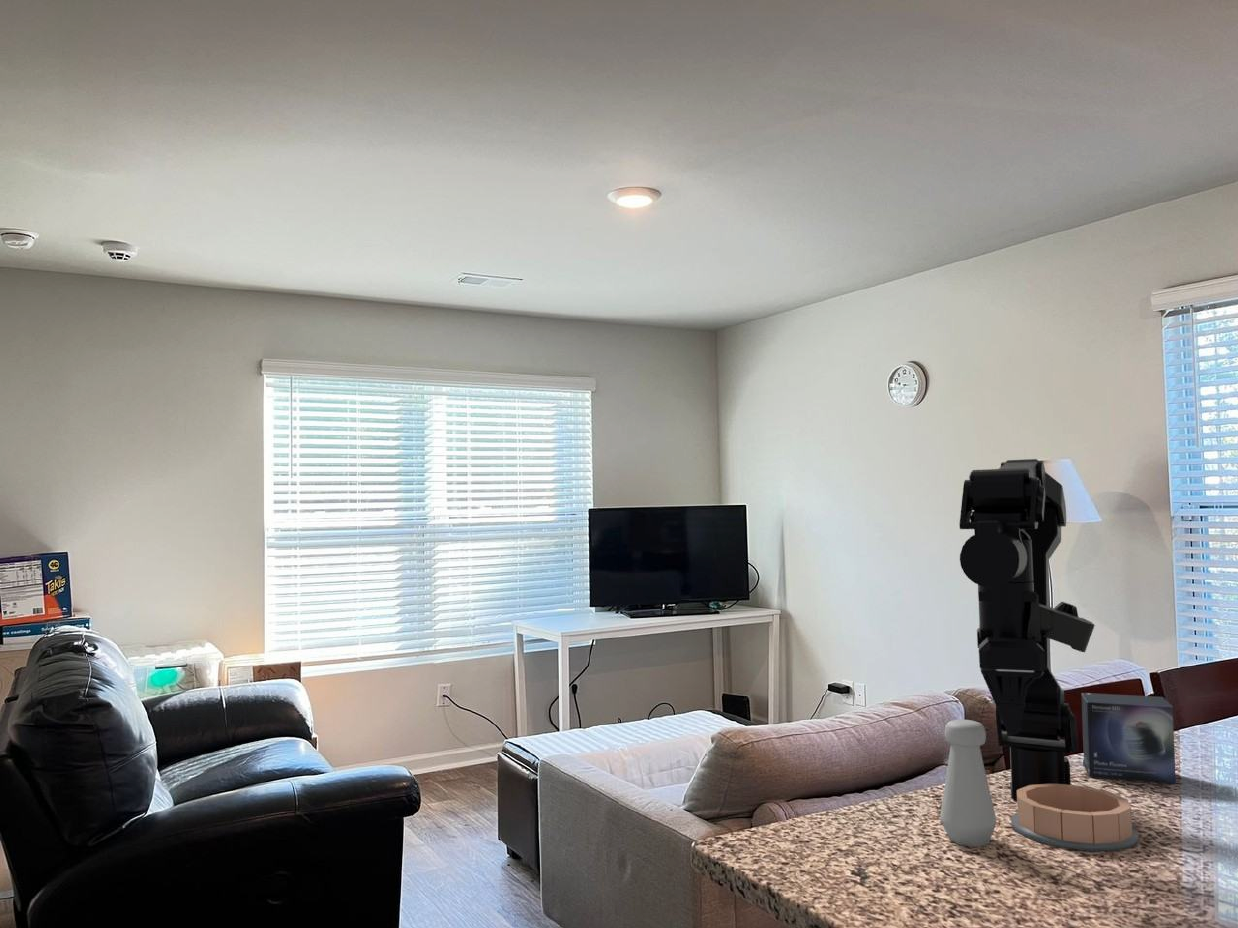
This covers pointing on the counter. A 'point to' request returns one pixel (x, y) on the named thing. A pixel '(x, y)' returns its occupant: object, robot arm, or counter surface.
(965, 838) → the salt shaker
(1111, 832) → the socket
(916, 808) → the counter surface
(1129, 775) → the small box
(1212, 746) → the counter surface
